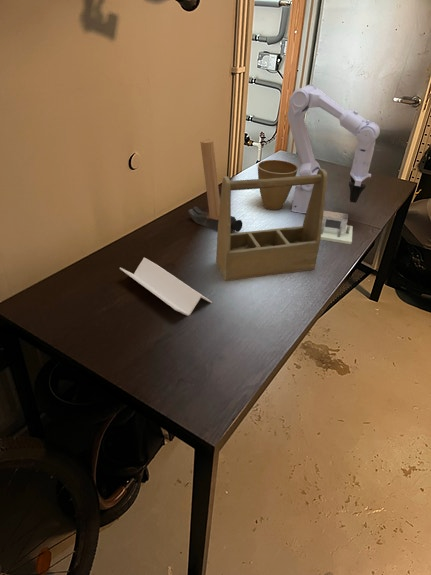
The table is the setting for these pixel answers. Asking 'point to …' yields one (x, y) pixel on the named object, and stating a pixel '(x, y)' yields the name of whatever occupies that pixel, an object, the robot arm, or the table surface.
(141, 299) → the table surface
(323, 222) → the block
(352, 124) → the robot arm
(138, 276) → the z bracket
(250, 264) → the caddy
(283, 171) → the plant pot
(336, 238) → the peg board
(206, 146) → the hammer
